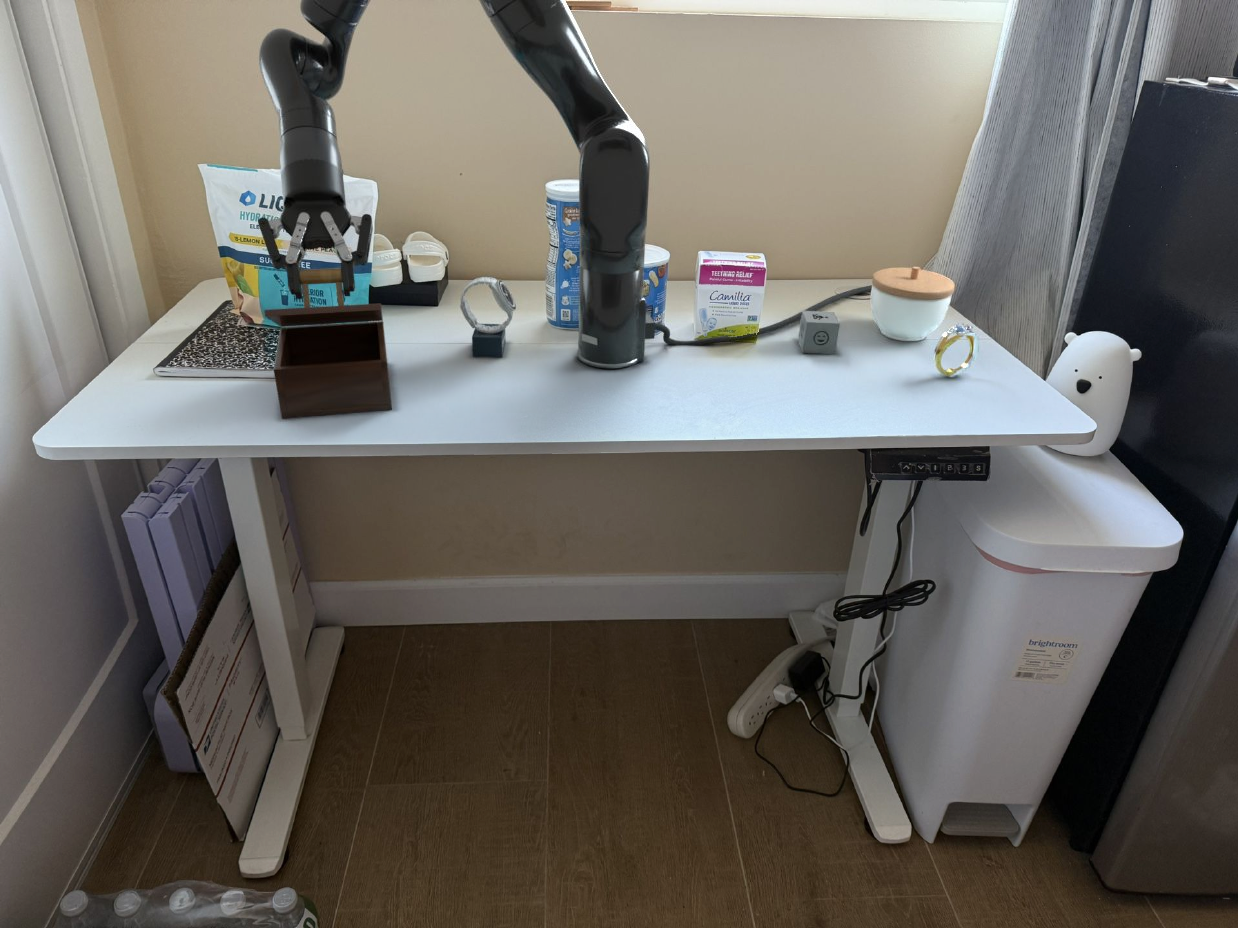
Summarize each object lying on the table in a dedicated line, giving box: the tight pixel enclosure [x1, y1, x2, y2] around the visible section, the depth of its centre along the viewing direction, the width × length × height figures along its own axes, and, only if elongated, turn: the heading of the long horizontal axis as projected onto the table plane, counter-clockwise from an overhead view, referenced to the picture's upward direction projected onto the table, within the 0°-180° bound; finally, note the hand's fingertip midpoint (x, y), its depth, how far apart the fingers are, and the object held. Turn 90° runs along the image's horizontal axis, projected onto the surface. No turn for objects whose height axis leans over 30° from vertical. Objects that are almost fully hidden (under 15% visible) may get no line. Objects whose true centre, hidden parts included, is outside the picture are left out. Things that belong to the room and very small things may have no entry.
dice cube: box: [797, 310, 841, 355], centre depth 139 cm, size 5×5×5 cm
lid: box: [263, 267, 384, 328], centre depth 116 cm, size 15×14×6 cm
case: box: [273, 320, 393, 419], centre depth 120 cm, size 15×14×7 cm
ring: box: [932, 322, 980, 378], centre depth 130 cm, size 7×3×8 cm, turn 104°
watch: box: [459, 276, 517, 358], centre depth 132 cm, size 6×8×11 cm
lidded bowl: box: [869, 266, 956, 342], centre depth 144 cm, size 13×13×11 cm
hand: (323, 294), depth 110 cm, fingers closed on lid, 5 cm apart
